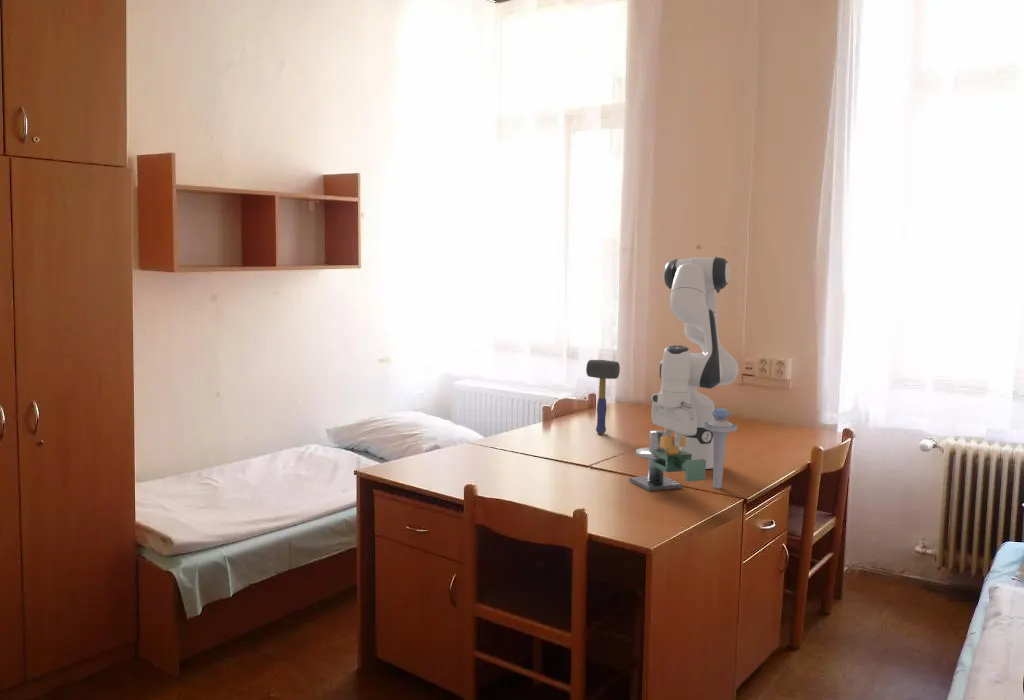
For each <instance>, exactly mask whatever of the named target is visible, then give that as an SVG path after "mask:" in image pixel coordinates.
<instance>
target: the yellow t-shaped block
mask: <svg viewBox="0 0 1024 700" xmlns="http://www.w3.org/2000/svg"><path fill="white" fill-rule="evenodd" d="M674 439H675V435H672V436H663V437H660V447H663V448H666V453H667V454H675V453H679V447H685V446H686V437H685V436H683V437H682V439H681V440H680V446H674V445H673V440H674ZM665 464H666V460H665Z"/></svg>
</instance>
